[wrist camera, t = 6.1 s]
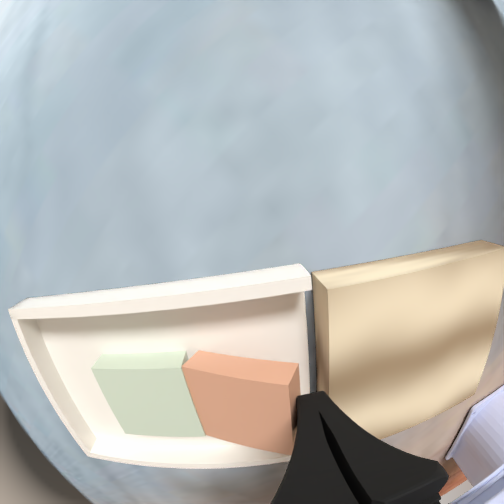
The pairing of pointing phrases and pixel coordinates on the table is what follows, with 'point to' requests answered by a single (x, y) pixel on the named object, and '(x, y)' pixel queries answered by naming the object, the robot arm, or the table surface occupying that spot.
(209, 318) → the tray
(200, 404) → the terracotta tile
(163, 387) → the sage tile
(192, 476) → the table surface
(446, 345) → the maple board
